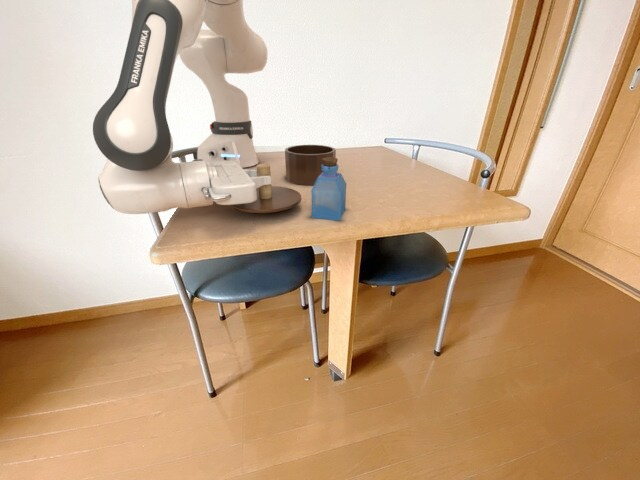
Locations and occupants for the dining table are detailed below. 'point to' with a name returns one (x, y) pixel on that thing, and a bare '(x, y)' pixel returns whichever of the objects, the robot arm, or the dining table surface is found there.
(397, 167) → the dining table surface
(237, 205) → the lid
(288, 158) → the dark brown pot
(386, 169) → the dining table surface
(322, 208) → the perfume bottle
